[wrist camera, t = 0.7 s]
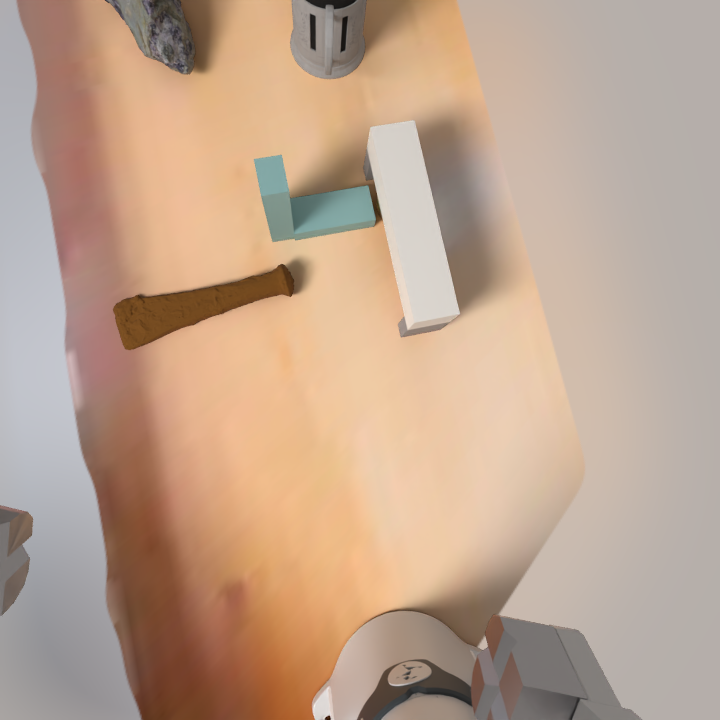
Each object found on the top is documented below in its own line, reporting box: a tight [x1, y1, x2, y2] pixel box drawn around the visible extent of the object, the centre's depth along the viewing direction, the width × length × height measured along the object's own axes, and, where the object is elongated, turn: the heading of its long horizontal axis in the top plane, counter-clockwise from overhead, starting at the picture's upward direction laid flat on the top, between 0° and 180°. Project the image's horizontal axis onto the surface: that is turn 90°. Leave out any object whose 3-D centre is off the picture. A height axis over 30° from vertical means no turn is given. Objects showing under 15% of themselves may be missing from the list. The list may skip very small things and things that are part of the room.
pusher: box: [254, 155, 376, 242], centre depth 54 cm, size 4×12×12 cm, turn 102°
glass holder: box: [290, 0, 367, 79], centre depth 55 cm, size 9×14×15 cm, turn 0°
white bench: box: [363, 120, 460, 337], centre depth 56 cm, size 20×4×8 cm, turn 12°
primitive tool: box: [113, 264, 294, 350], centre depth 57 cm, size 19×6×4 cm, turn 109°
